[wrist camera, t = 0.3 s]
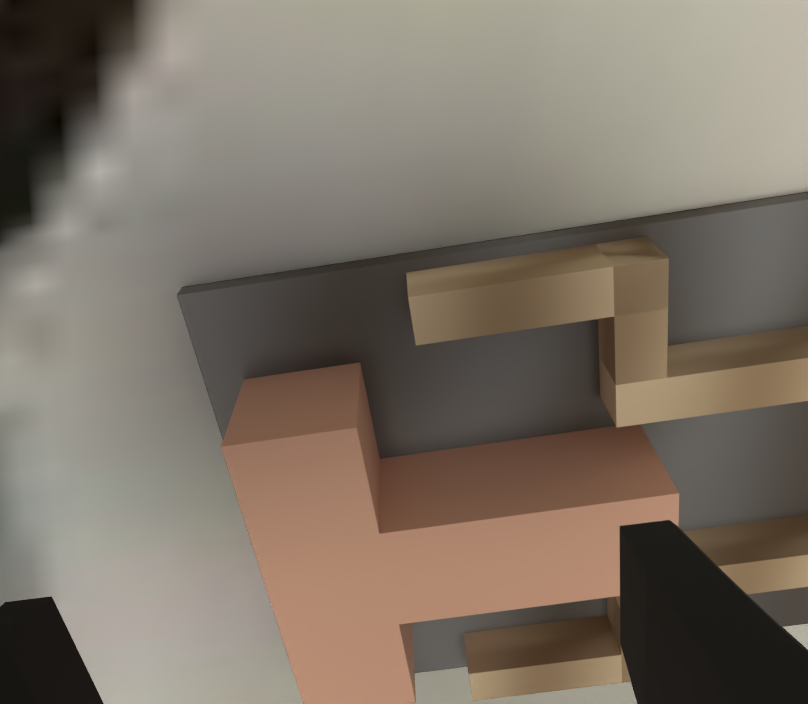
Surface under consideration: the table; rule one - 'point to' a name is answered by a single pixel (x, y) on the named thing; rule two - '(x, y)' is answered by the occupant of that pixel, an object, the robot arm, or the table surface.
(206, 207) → the table surface
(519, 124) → the table surface
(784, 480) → the t frame
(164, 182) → the table surface
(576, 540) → the t block
